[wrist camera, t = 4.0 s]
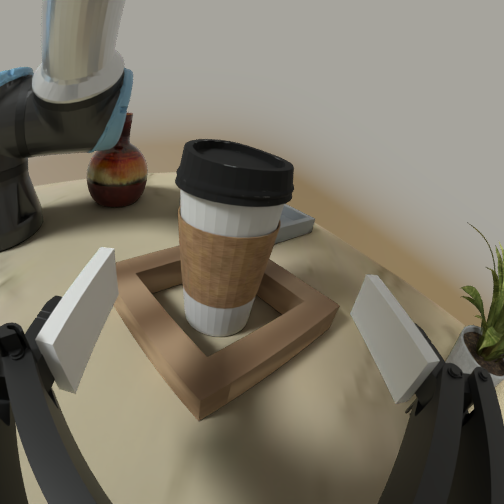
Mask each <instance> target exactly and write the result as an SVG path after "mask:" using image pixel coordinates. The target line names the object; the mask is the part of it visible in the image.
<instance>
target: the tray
mask: <svg viewBox="0 0 504 504" xmlns="http://www.w3.org/2000/svg"><path fill="white" fill-rule="evenodd" d="M180 205H181V195H180V204H179V206H180ZM280 221H281V226H280V229H279V232H278V235H277V237H276V240H275V243H274V244H276V243H279V242H282V241H285V240H288V239H291V238H295V237H298V236H301V235H304V234H307V233H310V232H312V228H313V225H314V221H315V218H313V217H311V216H309V215H307V214H305V213H303V212H301V211H299V210H296V209H294V208H292V207H290V206H288V205H286V204H284V207H283V210H282V213H281V217H280Z"/></svg>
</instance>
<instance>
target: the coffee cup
mask: <svg viewBox="0 0 504 504" xmlns="http://www.w3.org/2000/svg"><path fill="white" fill-rule="evenodd" d="M293 171H294V167H293V165H292V164H291V163H290V162H288V161H286V160H284V159H282V158H280V157H278V156H275V155H272V154H270V153H267V152H264V151H262V150H259V149H256V148H253V147H250V146H247V145H243V144H240V143H235V142H231V141H224V140H212V139H198V140H192V141H189V142H187V143H186V144H185V146H184V150H183V154H182V159H181V164H180V167H179V168H178V169H177V177H176V179H175V183H176V185H177V186H178V188H180V189H181V205H180V206H179V209H178V225H179V243H180V258H181V272H182V283H183V293H184V308H185V315H186V319H187V321H188V322H189V324H190V325H191V326H192V327H193V328H194V329H195V330H197V331H199V332H201V333H203V334H206V335H210V336H216V337H223V336H229V335H233V334H235V333H237V332H239V331H240V330H242V329H243V327H244V326H245V325H246V323H247V321H248V318H249V315H250V312H251V309H252V305H253V302H254V299H255V296H256V294H257V292H258V289H259V286H260V283H261V280H262V278H263V275H264V272H265V269H266V266H267V263H268V260H269V258H270V255H271V252H272V249H273V246H274V243H275V240H276V237H277V235H278V232H279V229H280V226H281V221H280V217H281V213H282V210H283V207H284V204H286V203H287V202H289V201H290V200H291V199H292V192H293V190H294V186H293Z"/></svg>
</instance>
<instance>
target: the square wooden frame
mask: <svg viewBox="0 0 504 504" xmlns="http://www.w3.org/2000/svg"><path fill="white" fill-rule="evenodd" d="M116 274H117V283H118V292H119V295H118V297H117V299H116V301H115V303H114V307H115V308H116V310H117V312H118V313H119V315H120V316H121V318H122V320H123V321H124V323H125V324H126V326H127V328H128V329H129V331H130V332H131V334H132V335H133V337H134V338H135V340H136V341H137V343H138V344H139V346H140V347H141V348H142V350H143V351H144V353H145V354H146V356H147V357H148V358H149V360H150V361H151V363H152V364H153V365H154V367H155V368H156V369H157V371H158V372H159V373H160V375H161V376H162V377H163V379H164V380H165V381H166V383H167V384H168V385H169V386H170V388H171V389H172V390H173V391H174V393H175V394H176V395H177V396H178V398H179V399H180V400H181V401H182V402H183V404H184V405H185V406H186V407H187V408H188V409H189V411H190V412H191V413H192V414H193V415H194V416H195V418H196V419H197V420H198V421H200V420H201V419H203V418H205V417H206V416H208V415H210V414H211V413H213V412H214V411H216V410H218V409H219V408H221V407H222V406H224V405H226V404H227V403H229V402H230V401H232V400H233V399H235V398H236V397H238V396H239V395H241V394H242V393H244V392H245V391H247V390H248V389H250V388H251V387H253V386H254V385H256V384H257V383H258V382H260V381H261V380H263V379H264V378H265V377H267V376H268V375H270V374H271V373H272V372H274V371H275V370H277V369H278V368H279V367H281V366H282V365H283V364H285V363H286V362H287V361H289V360H290V359H291V358H293V357H294V356H295V355H296V354H298V353H299V352H300V351H302V350H303V349H304V348H305V347H307V346H308V345H309V344H310V343H312V342H313V341H314V340H315V339H317V338H318V337H319V336H320V335H322V334H323V333H324V332H325V331H326V330H328V329H329V327H330V325H331V323H332V321H333V319H334V317H335V315H336V313H337V311H338V308H339V306H340V305H338V304H337V303H335V302H334V301H332V300H331V299H329V298H328V297H326V296H325V295H323V294H322V293H320V292H319V291H317V290H316V289H314V288H313V287H311V286H310V285H308V284H306V283H305V282H303V281H302V280H300V279H299V278H297V277H296V276H294V275H293V274H291V273H290V272H288V271H287V270H285V269H284V268H282V267H281V266H279V265H278V264H276V263H275V262H273V261H272V260H270V259H269V260H268V263H267V266H266V269H265V272H264V275H263V278H262V280H261V283H260V286H259V289H258V292H257V294H256V295H257V296H259V297H260V298H261V299H263V300H264V301H265V302H266V303H268V304H269V305H270V306H272V307H273V308H274V309H276V310H277V311H278V312H280V313H281V314H282V315H281V316H280V317H278V318H276V319H275V320H273V321H271V322H269V323H268V324H266V325H264V326H263V327H261V328H259V329H257V330H256V331H254V332H252V333H250V334H249V335H247V336H245V337H243V338H241V339H240V340H238V341H236V342H234V343H232V344H231V345H229V346H227V347H225V348H223V349H221V350H220V351H218V352H216V353H214V354H212V355H210V356H208V357H207V356H206V355H205V354H204V353H203V352H202V351H201V350H200V349H199V348H198V347H197V346H196V345H195V343H194V342H193V341H192V340H191V339H190V338H189V337H188V336H187V335H186V334H185V332H184V331H183V330H182V329H181V328H180V327H179V326H178V325H177V323H176V322H175V321H174V320H173V319H172V318H171V316H170V315H169V314H168V313H167V312H166V311H165V309H164V308H163V307H162V306H161V305H160V303H159V302H158V301H157V300H156V299H155V297H154V296H153V295H152V293H155V292H158V291H161V290H164V289H167V288H170V287H173V286H176V285H179V284H182V272H181V258H180V246H176V247H172V248H168V249H164V250H161V251H157V252H153V253H149V254H145V255H142V256H138V257H134V258H131V259H127V260H123V261H120V262H116Z"/></svg>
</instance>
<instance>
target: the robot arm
mask: <svg viewBox="0 0 504 504" xmlns="http://www.w3.org/2000/svg"><path fill="white" fill-rule="evenodd" d="M124 4H125V0H43V2H42V23H41V46H42V63H41V64H40V65H39V67H38V68H37V69H36V71H35V73H33V70H32V68H29V67H19V68H14V69H11V70H8V71H7V70H5V71H2V72H0V251H1V250H4V249H7V248H10V247H12V246H14V245H17V244H19V243H20V242H22V241H24V240H26V239H27V238H29V237H30V236H31V235H33V234H34V233H35V232H36V231H37V230H38V229H39V227H40V226H41V224H42V221H43V217H42V209H41V204H40V202H39V199H38V197H37V194H36V192H35V189H34V187H33V184H32V182H31V179H30V177H29V173H28V158H29V157H35V156H45V155H56V154H70V153H92V152H94V151H100V150H108V149H111V148H112V147H114V146H115V145H116V144H117V142H118V141H119V138H120V136H121V133H122V130H123V126H124V122H125V118H126V113H127V111H126V110H127V107H128V104H129V101H130V96H131V90H132V84H133V72H132V71H131V70H129V69H126V68H124V60H123V57H122V56H121V54H120V53H119V52H118V51H116V50H115V45H116V39H117V34H118V29H119V25H120V20H121V16H122V11H123V8H124ZM118 295H119V292H118V283H117V274H116V263H115V251H114V248H105V247H100V249H99V250H98V251H97V252H96V254H95V255H94V256H93V257H92V259H91V260H90V261H89V262H88V264H87V265H86V266H85V267H84V269H83V270H82V271H81V273H80V274H79V275H78V277H77V278H76V279H75V281H74V282H73V283H72V285H71V286H70V288H69V289H68V290H67V292H66V293H65V295H64V296H63V297H60V296H55V297H53V298H52V299H50V300H49V301H48V302H47V303H46V304H45V305H44V307H43V308H42V311H40V312H39V314H38V315H37V318H35V320H34V321H33V323H32V324H31V326H30V327H29V329H28V330H27V332H26V333H25V334H24V332H23V330H22V327H21V326H20V325H18V324H16V323H6V324H4V325H2V326H0V504H28V500H27V496H26V492H25V488H24V483H23V478H22V473H21V467H20V461H19V454H18V446H17V437H16V426H17V429H18V432H19V436H20V439H21V442H22V445H23V447H24V450H25V453H26V456H27V458H28V461H29V463H30V466H31V468H32V471H33V473H34V475H35V478H36V480H37V482H38V484H39V486H40V488H41V491H42V493H43V495H44V497H45V499H46V500H47V502H48V504H112V502H111V501H110V500H109V498H108V497H107V495H106V494H105V492H104V491H103V489H102V488H101V486H100V485H99V483H98V481H97V480H96V478H95V476H94V475H93V473H92V471H91V470H90V468H89V466H88V465H87V463H86V461H85V459H84V457H83V456H82V454H81V452H80V450H79V448H78V446H77V444H76V442H75V440H74V438H73V436H72V434H71V432H70V430H69V427H68V425H67V423H66V421H65V418H64V416H63V414H62V411H61V409H60V406H59V404H58V401H57V399H56V396H55V394H54V391H53V389H52V388H51V387H52V385H53V383H54V380H55V382H56V384H57V385H58V387H59V389H62V390H65V391H68V392H71V393H75V394H76V391H77V388H78V386H79V383H80V380H81V378H82V375H83V373H84V370H85V368H86V365H87V363H88V360H89V358H90V356H91V353H92V351H93V348H94V346H95V344H96V342H97V339H98V337H99V335H100V333H101V330H102V328H103V326H104V324H105V322H106V320H107V317H108V315H109V313H110V311H111V309H112V307H113V305H114V303H115V301H116V299H117V297H118ZM350 315H351V316H352V318H353V320H354V322H355V324H356V326H357V328H358V330H359V331H360V333H361V335H362V337H363V339H364V341H365V343H366V345H367V347H368V349H369V351H370V353H371V355H372V357H373V359H374V361H375V363H376V365H377V367H378V369H379V371H380V373H381V375H382V377H383V379H384V381H385V383H386V385H387V387H388V389H389V391H390V394H391V396H392V398H393V400H394V402H395V404H398V403H402V402H407V401H408V400H409V399H410V398H411V397H412V396H413V395H414V393H415V394H416V396H417V399H416V400H415V401H414V402H413V403H412V404H411V405H410V407H409V408H408V409H407V410H406V412H405V413H408V412H409V411H410V410H411V409H412V411H411V413H410V418H409V422H408V425H407V429H406V432H405V435H404V438H403V441H402V444H401V447H400V450H399V453H398V456H397V459H396V461H395V464H394V467H393V469H392V472H391V474H390V477H389V479H388V482H387V484H386V486H385V489H384V491H383V493H382V495H381V497H380V500H379V502H378V504H504V424H503V419H502V415H501V410H500V406H499V402H498V398H497V394H496V391H495V387H494V384H493V380H492V377H491V375H490V373H489V372H488V371H487V370H486V369H485V368H483V367H476V368H475V369H474V370H473V371H472V373H471V374H467V373H463V372H462V370H461V369H460V368H459V367H458V366H457V365H455V364H453V363H445V361H444V360H443V358H442V357H441V355H440V354H439V352H438V351H437V349H436V348H435V346H434V345H433V344H432V342H431V341H430V339H429V338H428V336H427V335H426V334H425V332H424V331H423V329H421V328H420V327H419V326H418V325H417V324H415V323H414V322H413V321H412V320H411V318H410V317H409V316H408V314H407V313H406V311H405V310H404V309H403V307H402V306H401V305H400V303H399V302H398V301H397V300H396V298H395V297H394V296H393V294H392V293H391V292H390V290H389V289H388V288H387V287H386V285H385V284H384V283H383V282H382V280H381V279H380V278H379V276H378V275H370V274H366V276H365V279H364V282H363V284H362V287H361V289H360V291H359V294H358V296H357V299H356V301H355V303H354V306H353V308H352V310H351V313H350ZM473 404H474V410H473V411H472V412H471V413H468V409H469V408H470V407H471V406H472V405H473ZM15 422H16V424H15Z"/></svg>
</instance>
